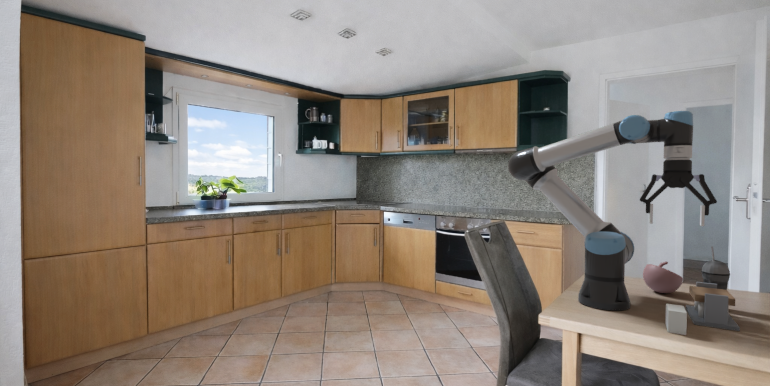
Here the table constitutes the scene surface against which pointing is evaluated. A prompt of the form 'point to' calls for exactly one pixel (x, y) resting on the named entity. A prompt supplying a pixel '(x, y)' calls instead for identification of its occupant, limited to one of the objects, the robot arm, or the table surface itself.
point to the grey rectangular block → (676, 319)
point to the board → (699, 293)
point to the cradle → (712, 310)
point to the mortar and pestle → (661, 278)
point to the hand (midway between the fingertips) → (675, 224)
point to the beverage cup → (716, 273)
